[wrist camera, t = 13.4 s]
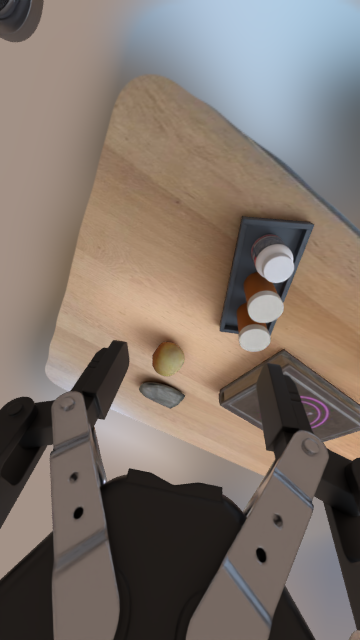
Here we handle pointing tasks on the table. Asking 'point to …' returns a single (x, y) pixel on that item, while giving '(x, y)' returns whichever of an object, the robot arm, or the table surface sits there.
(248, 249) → the tray
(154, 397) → the stone
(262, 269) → the pill bottle
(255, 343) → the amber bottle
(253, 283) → the amber bottle middle
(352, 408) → the book
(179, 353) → the fruit
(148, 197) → the table surface
